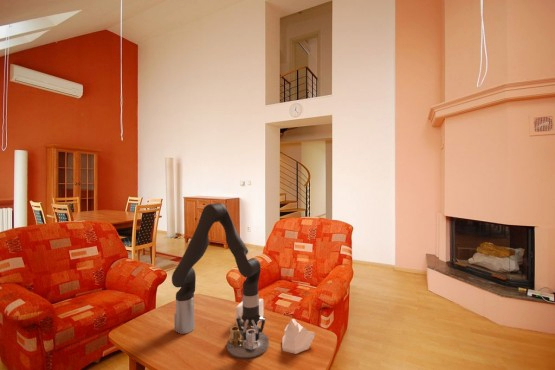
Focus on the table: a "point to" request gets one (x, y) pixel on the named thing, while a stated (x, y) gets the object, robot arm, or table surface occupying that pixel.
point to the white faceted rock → (296, 338)
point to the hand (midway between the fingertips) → (251, 339)
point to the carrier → (244, 353)
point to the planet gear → (251, 339)
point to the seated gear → (235, 336)
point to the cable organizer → (240, 310)
